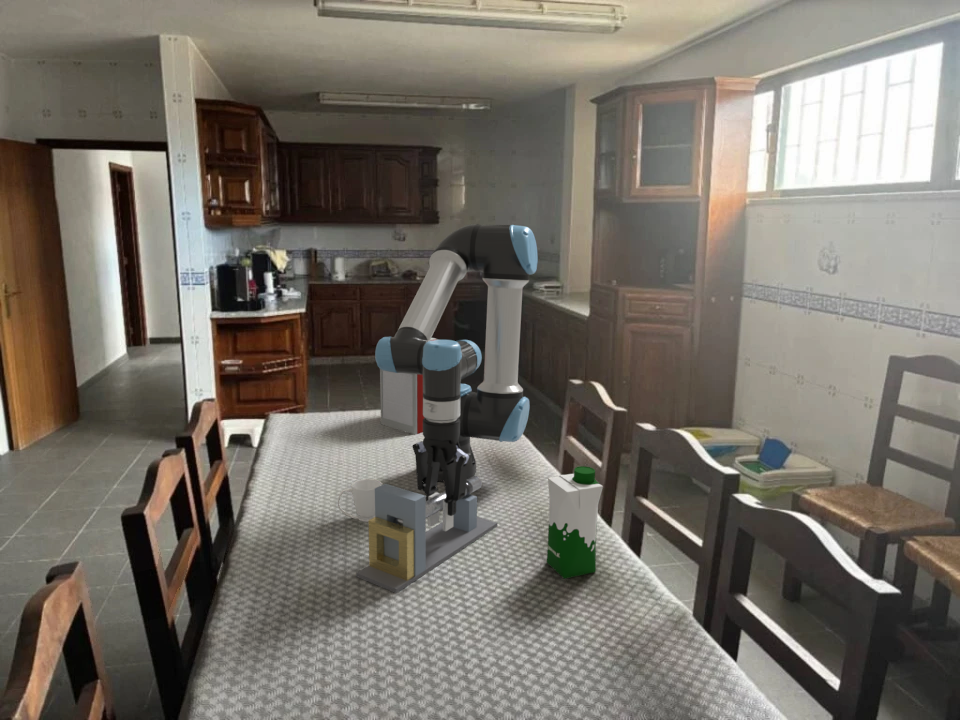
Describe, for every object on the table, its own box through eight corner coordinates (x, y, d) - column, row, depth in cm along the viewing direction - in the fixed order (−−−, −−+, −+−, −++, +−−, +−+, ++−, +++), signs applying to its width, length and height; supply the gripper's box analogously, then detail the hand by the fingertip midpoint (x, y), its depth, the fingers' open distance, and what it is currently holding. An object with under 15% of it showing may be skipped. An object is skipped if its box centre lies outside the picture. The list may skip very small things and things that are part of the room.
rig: (460, 514, 162) (461, 448, 158) (497, 526, 156) (499, 457, 153) (356, 576, 134) (354, 497, 131) (396, 593, 129) (395, 511, 125)
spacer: (376, 561, 138) (375, 516, 136) (414, 576, 133) (413, 529, 131) (369, 565, 137) (368, 520, 135) (407, 580, 131) (406, 533, 129)
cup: (384, 523, 157) (383, 489, 155) (338, 526, 155) (337, 491, 153) (382, 510, 163) (381, 477, 162) (338, 512, 162) (337, 479, 160)
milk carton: (602, 573, 137) (608, 476, 133) (561, 582, 133) (565, 483, 129) (578, 553, 145) (583, 460, 140) (539, 561, 141) (543, 466, 137)
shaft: (470, 487, 157) (470, 474, 156) (481, 490, 155) (482, 477, 155) (393, 529, 136) (392, 514, 135) (405, 534, 134) (405, 519, 134)
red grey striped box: (379, 423, 227) (377, 341, 222) (418, 412, 241) (418, 334, 235) (415, 435, 217) (415, 348, 211) (454, 422, 230) (454, 341, 224)
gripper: (398, 414, 143) (399, 522, 148) (463, 429, 134) (461, 543, 139) (421, 406, 149) (421, 510, 154) (485, 420, 140) (483, 529, 145)
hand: (440, 525), depth 147 cm, fingers closed on shaft, 3 cm apart
